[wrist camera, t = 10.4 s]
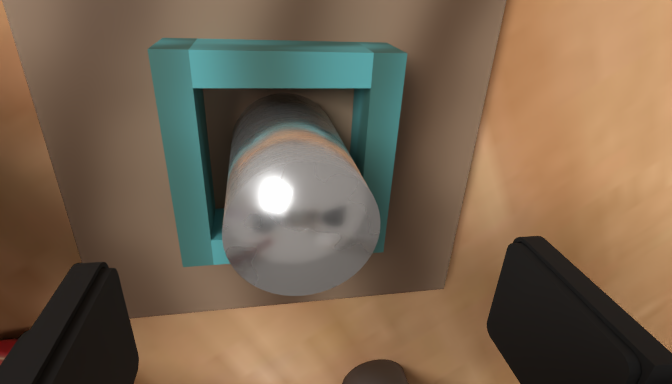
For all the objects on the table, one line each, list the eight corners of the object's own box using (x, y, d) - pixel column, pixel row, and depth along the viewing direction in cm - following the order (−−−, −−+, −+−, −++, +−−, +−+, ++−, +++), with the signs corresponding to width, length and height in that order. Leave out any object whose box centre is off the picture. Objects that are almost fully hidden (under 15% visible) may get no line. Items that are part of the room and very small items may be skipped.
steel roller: (337, 93, 17) (388, 159, 11) (332, 188, 19) (373, 289, 13) (228, 92, 16) (215, 164, 10) (235, 192, 18) (227, 302, 12)
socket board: (509, -90, 16) (574, -105, 13) (435, 275, 24) (463, 321, 21) (-19, -136, 13) (-110, -173, 9) (107, 303, 21) (81, 363, 18)
